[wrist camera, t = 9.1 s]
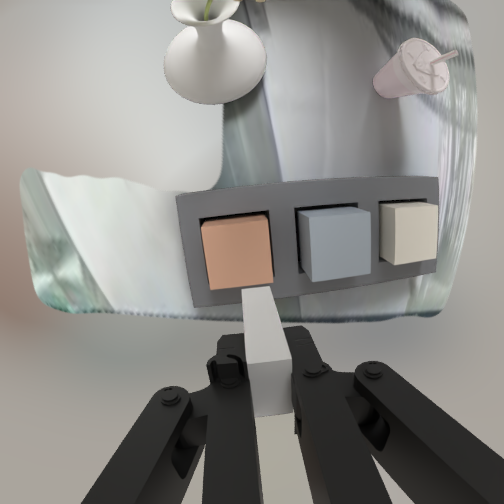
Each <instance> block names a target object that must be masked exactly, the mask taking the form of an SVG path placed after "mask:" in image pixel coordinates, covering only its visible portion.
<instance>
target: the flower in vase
mask: <svg viewBox="0 0 504 504" xmlns="http://www.w3.org/2000/svg"><path fill="white" fill-rule="evenodd" d="M240 1H242V0H172V2H171V12H172V15H173V16H174V17H175V18H176V19H177V20H178V21H179V22H181V23H183V24H185V25H188V27H186V28H185V29H183V30H182V31H181V32H180V33H179V34H177V35H176V37H175V38H174V39H173V40H172V42H171V43H170V45H169V47H168V49H167V51H166V55H165V58H164V72H165V76H166V79H167V81H168V83H169V85H170V86H171V87H172V89H173V90H174V91H175V92H176V93H178V94H179V95H181V96H182V97H183V98H186V99H187V100H190V101H193V102H196V103H200V104H213V105H214V104H223V103H227V102H231V101H234V100H236V99H238V98H240V97H242V96H244V95H245V94H247V93H248V92H250V91H251V90H252V89H253V88H254V87H255V86H256V85H257V84H258V82H259V81H260V80H261V78H262V76H263V74H264V72H265V68H266V64H267V56H266V50H265V47H264V45H263V43H262V41H261V39H260V38H259V37H258V36H257V34H256V33H255V32H254V31H253V30H252V29H250V28H249V27H247V26H246V25H244V24H242V23H240V22H237V21H234V20H230V19H228V18H230V17H231V16H232V15H233V14H234V13H235V12H236V10H237V8H238V6H239V2H240ZM255 1H256V2H265V1H266V0H255Z"/></svg>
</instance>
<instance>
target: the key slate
mask: <svg viewBox="0 0 504 504" xmlns="http://www.w3.org/2000/svg"><path fill="white" fill-rule="evenodd" d="M297 216H298V229H299V244H300V260H301V267H302V268H303V270H304V271H305V273H306V274H307V275H308V277H309V278H310V280H311V281H312V282H318V281H325V280H332V279H339V278H345V277H352V276H358V275H365V274H371V214H370V212H368V211H365V210H362V209H358V208H355V207H352V206H346V207H334V208H323V209H312V210H301V211H297Z"/></svg>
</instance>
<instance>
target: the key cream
mask: <svg viewBox="0 0 504 504" xmlns="http://www.w3.org/2000/svg"><path fill="white" fill-rule="evenodd" d="M378 205H379V256H380V257H382V258H383V259H385V260H387V261H388V262H390V263H392V264H393V265H399V264H405V263H411V262H417V261H423V260H429V259H434V258H436V254H437V236H438V205H433V204H429V203H424V202H419V201H397V202H381V203H378Z"/></svg>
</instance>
